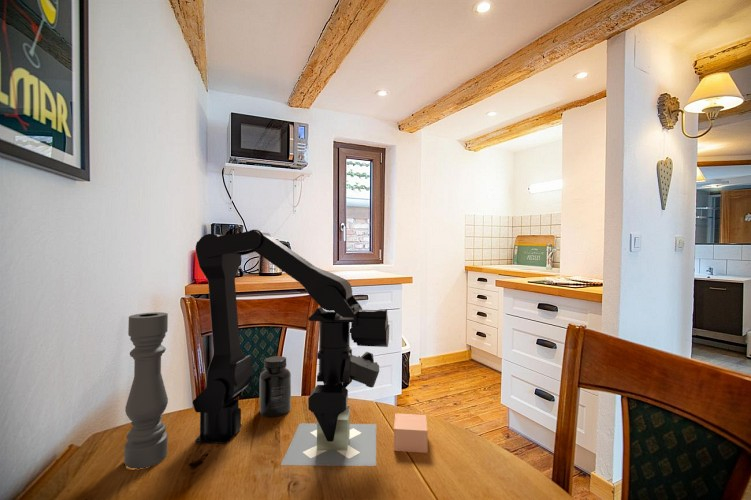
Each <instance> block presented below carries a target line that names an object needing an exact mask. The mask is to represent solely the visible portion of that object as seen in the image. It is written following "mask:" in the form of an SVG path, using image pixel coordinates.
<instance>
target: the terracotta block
mask: <svg viewBox="0 0 751 500" xmlns="http://www.w3.org/2000/svg"><path fill="white" fill-rule="evenodd" d="M394 415H395V416H394V425H393V451H394V452H395V451H396V452H409V453H423V454H424V453H425V454H427V453H428V447H429V446H428V434H429V433H428V422H427V415H426V414H414V413H412V414H411V413H395V414H394Z"/></svg>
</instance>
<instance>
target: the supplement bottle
mask: <svg viewBox="0 0 751 500" xmlns="http://www.w3.org/2000/svg"><path fill="white" fill-rule="evenodd" d="M263 362H264V365H263V369H264V370H263V371H262V372H261V373H260V375H259V415H261V416H263V417H265V418H278V417H282V416H284V415H286V414H288V413H290V411H291V410H292V409H291V408H292V395H291V394H292V386H291V385H292V384H291V383H292V380H291V379H292V376H291V371H290V370H289V369H288V368H286V367H287V357H285V356H279V355H278V356H270V357H267V358H265V359H264V361H263Z"/></svg>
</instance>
